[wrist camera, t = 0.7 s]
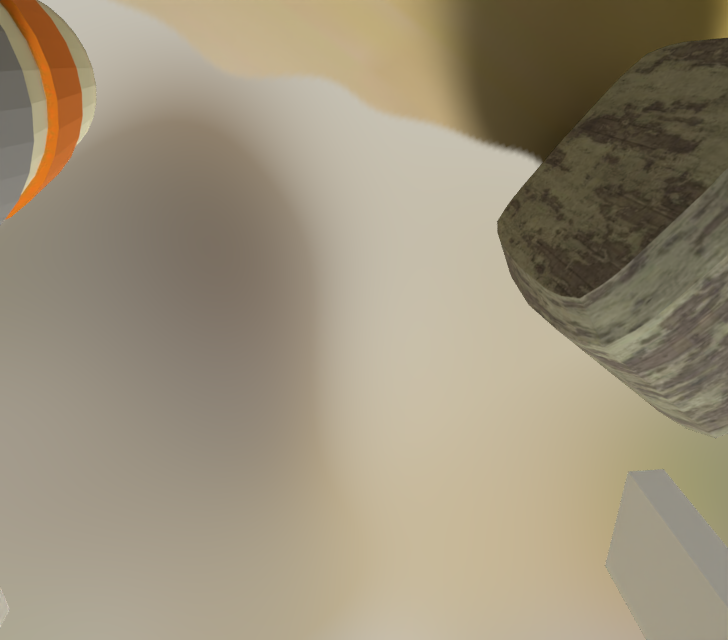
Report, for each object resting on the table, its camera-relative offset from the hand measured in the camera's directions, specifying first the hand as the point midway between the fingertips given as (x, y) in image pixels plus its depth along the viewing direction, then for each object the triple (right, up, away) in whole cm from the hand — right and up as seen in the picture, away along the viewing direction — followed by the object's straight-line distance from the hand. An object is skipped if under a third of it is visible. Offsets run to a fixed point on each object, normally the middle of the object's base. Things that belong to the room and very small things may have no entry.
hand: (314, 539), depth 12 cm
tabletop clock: (+15, +14, +24) cm, 32 cm away
